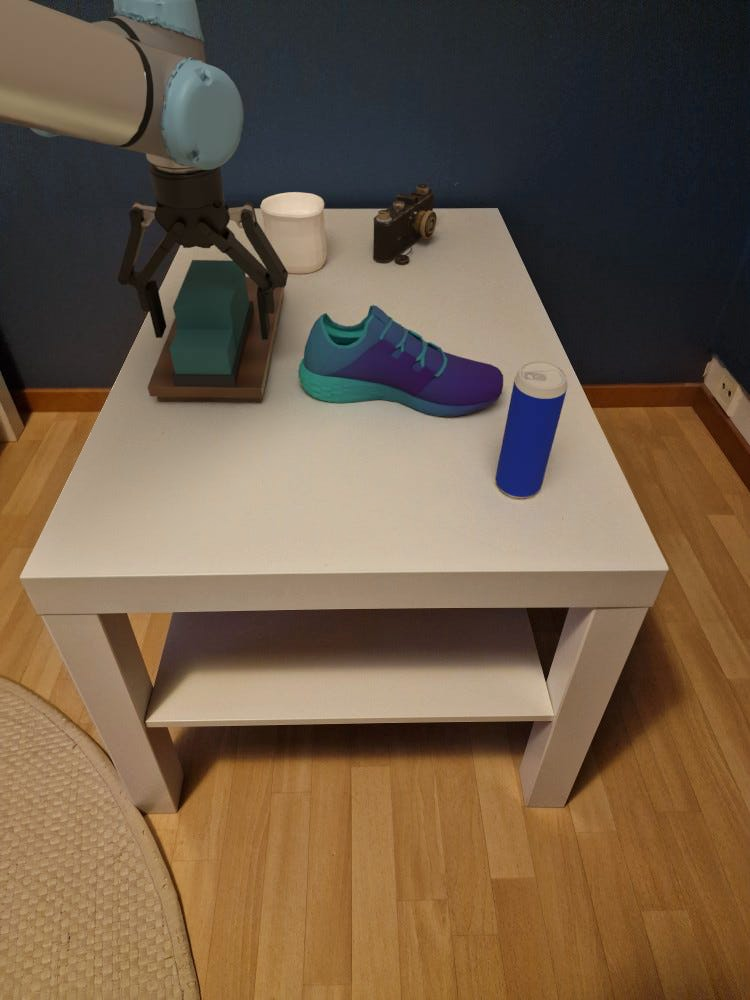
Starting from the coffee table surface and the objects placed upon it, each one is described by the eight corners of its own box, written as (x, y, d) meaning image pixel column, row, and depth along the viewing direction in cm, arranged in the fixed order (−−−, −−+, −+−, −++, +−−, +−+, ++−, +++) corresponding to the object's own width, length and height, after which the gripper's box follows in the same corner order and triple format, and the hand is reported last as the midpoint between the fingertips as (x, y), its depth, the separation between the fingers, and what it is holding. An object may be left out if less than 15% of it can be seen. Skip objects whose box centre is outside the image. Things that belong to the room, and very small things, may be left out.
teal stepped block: (201, 310, 97) (191, 256, 91) (254, 310, 97) (247, 257, 91) (174, 386, 85) (160, 329, 79) (235, 387, 85) (225, 330, 79)
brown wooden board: (194, 293, 106) (191, 275, 104) (285, 295, 106) (284, 277, 104) (152, 406, 87) (147, 386, 84) (263, 407, 87) (261, 388, 84)
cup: (336, 269, 112) (334, 209, 105) (278, 281, 109) (272, 220, 102) (315, 244, 118) (312, 186, 111) (259, 255, 115) (253, 196, 108)
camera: (401, 270, 112) (403, 221, 107) (367, 259, 115) (367, 211, 109) (448, 232, 122) (453, 186, 116) (416, 223, 125) (419, 178, 119)
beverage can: (537, 469, 79) (564, 359, 69) (543, 501, 76) (574, 391, 65) (492, 468, 79) (513, 358, 69) (497, 500, 76) (519, 389, 65)
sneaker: (498, 425, 85) (513, 340, 76) (292, 401, 88) (284, 317, 79) (501, 377, 92) (515, 295, 83) (310, 356, 95) (305, 275, 86)
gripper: (56, 172, 71) (109, 347, 87) (296, 176, 71) (307, 350, 87) (78, 146, 77) (125, 316, 92) (302, 150, 77) (311, 319, 92)
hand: (213, 333), depth 89 cm, fingers open, 13 cm apart
